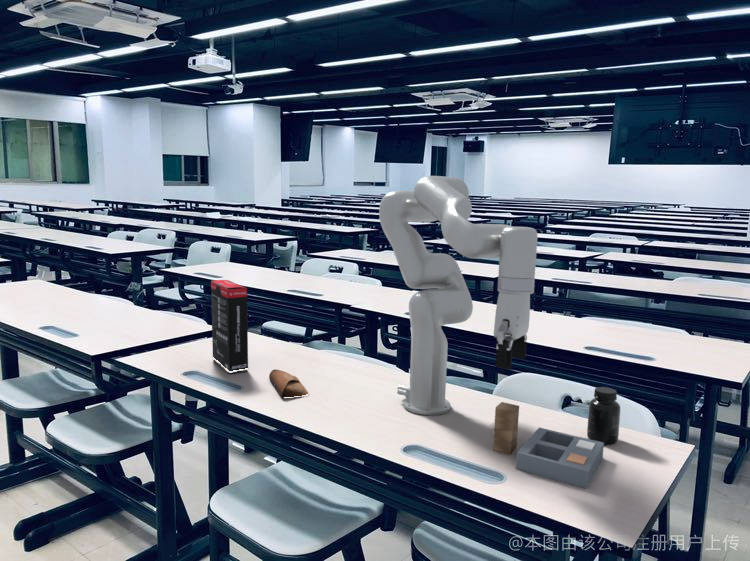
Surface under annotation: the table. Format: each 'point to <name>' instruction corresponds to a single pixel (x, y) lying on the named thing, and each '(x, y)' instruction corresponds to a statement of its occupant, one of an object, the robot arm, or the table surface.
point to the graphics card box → (229, 324)
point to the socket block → (560, 457)
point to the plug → (506, 428)
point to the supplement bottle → (604, 416)
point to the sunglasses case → (287, 384)
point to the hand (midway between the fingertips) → (510, 362)
